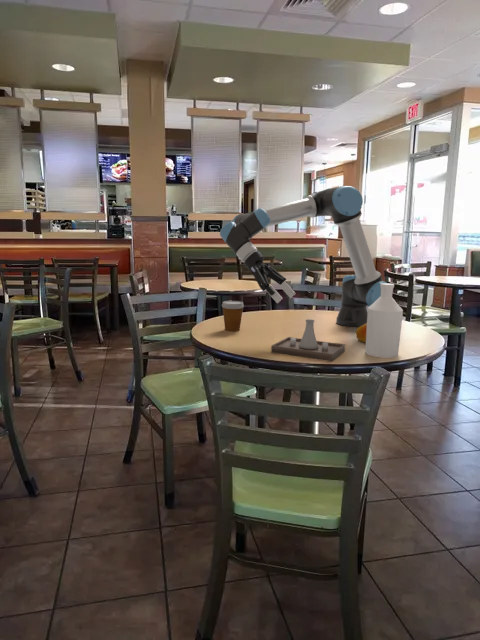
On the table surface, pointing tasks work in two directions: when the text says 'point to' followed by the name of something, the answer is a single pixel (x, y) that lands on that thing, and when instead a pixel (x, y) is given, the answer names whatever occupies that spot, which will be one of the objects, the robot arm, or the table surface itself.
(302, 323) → the table surface
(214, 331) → the table surface
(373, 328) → the bottle
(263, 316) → the table surface
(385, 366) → the table surface
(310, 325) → the flask
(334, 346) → the caddy tray
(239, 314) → the disposable coffee cup
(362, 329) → the fruit
